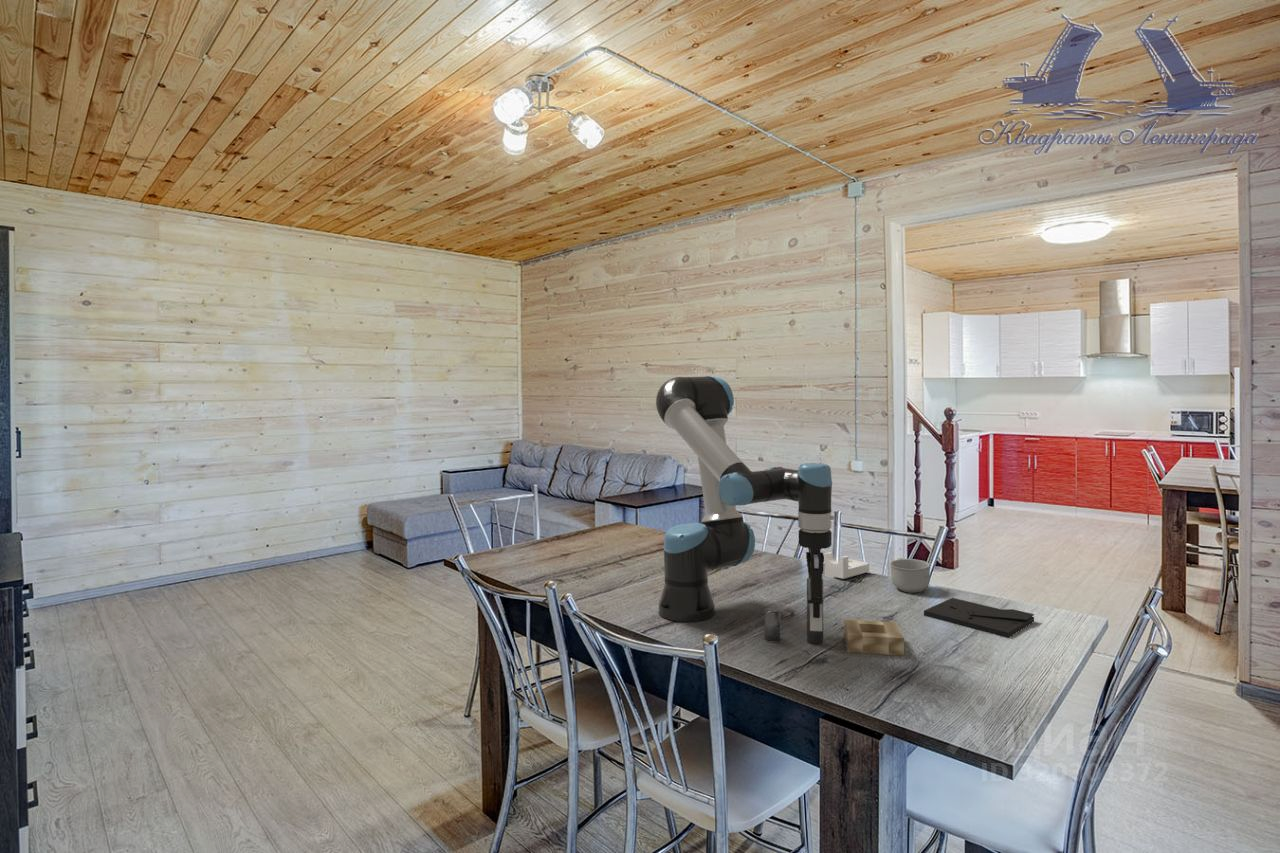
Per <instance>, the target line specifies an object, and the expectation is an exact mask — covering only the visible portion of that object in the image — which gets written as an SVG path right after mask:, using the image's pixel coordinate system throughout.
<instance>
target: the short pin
mask: <svg viewBox="0 0 1280 853" xmlns="http://www.w3.org/2000/svg"><path fill="white" fill-rule="evenodd" d="M763 639H764V641H766V640H767V641H766V642H769V641H778V642H779V640H780V641H781V610H780V609H778V608H777V607H766V608H764V609H763Z"/></svg>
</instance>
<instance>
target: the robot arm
mask: <svg viewBox="0 0 1280 853" xmlns="http://www.w3.org/2000/svg"><path fill="white" fill-rule="evenodd" d="M656 394H657V395H656V397H655V406H656V411H657V413H658V415H659V417H660V419H661V420H662V422H663V423H664V424H665V425H666V427H668V428H670V429H674V430H675V431H676V433H677V434H678V435H679V436H680V437H681V438H682V440H683V441H684V442H685V443H686V444H687V445H688V446H689V448H690V449H691V450H692V452H694V454H695V455H696V456H697V461H698V466H699V474H700V481H701V482H700V483H701V488H702V489H701V490H702V496H703V502H704V509H705V510H704V511H705V515H704V516H703V518H702V519H701V523H700V522H689V523H680V524H677V525H674V526H671V527H670V528H668V529H667V530H666V531H665V533H664V536H663V537H664V539H663V552H664V553H663V556H664V557H663V559H664V584H663V589H662V592H661V595H660V599H659V601H658V614H659V616H660V617H662V618H664V619H667V620H671V621H675V622H682V623H683V622H684V623H685V622H688V623H690V622H692V623H693V622H698V621H699V622H700V621H703V620H707V619H710V618H711V617H714V615H715V612H716V611H715V608H716V607H715V606H716V605H715V602H714V598H713V596H712V593H711V592H712V591H711V590H710V587H709V581H708V580H709V576H708V575H709V572H710V571H713V570H719V569H724V568H728V567H736V566H738V565H741V564H744V563H747V561H749V560H750V559H751V557H752V555H753V554H754V552H755V547H756V537H755V532H754V530H753V529H752V528H751V526H750V524H749V523H748V522H745V521H744V516H743V515H742V514H741V513H740V512H739V511H738V510H737V506H747V505H750V504H757V503H764V502H767V503H768V502H774V501H780V500H787V501H793V502H797V503H798V511H797V513H798V516H797V517H798V518H797V521H798V522H797V524H798V527H799V529H798V545H799V546H801V547H802V548H804V549H808V551H806V552H805V553H806V554H805V555H806V556H805V558H806V564H807V565H806V567H807V573H808V577H807V578H810V587H811V600H807V599H806V604H807V603H810V631H822V603H823V604H824V598H823V599H822V579H823V574H824V564H825V554H824V552H821V550H822V549H824V550H825V549H829V548H830V547H832V534H833V533H832V531H831V530H830V529H832V521H833V520H835V516H834V515H832V489H833V488H832V486H833V481H832V480H833V479H832V469H831V467H830V465H829V464H827V463H821V462H819V463H818V462H817V463H816V462H803V463H800V464H799V465H798V469H792V468H785V467H782V466H777V467H776V466H775V467H774V466H770V467H767V468H766V469H764V470H758V471H757V470H755V471H752V470H751V469H749V467H748V466H747V465H746V464H745V463H744V462H743V460H741V458H739V457H738V455H737V454H736V453H735V452H734V451H733V449H731V447H730V446H729V445H728V444H727V438H726V433H725V425H726V424H727V423H728V421H729V418H728V417H729V415H730V414H731V412H732V410H733V406H734V402H735V398H734V393H733V391H732V387H731V386H730V385H729V384H728V382H727V381H725V380H724V379H723V378H721V377H716V376H711V375H709V376H708V375H706V376H676V377H672V378H670V379H668V380H667V381H665V382H664V383H663V384H662V385H661V386H660V387H659V390H658V391H657V393H656ZM814 597H819V598H814Z"/></svg>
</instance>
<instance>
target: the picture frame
mask: <svg viewBox="0 0 1280 853" xmlns="http://www.w3.org/2000/svg"><path fill="white" fill-rule="evenodd" d="M923 616H924V617H928V618H930V619H931V618H932V619H935V620H939V621H943V622H946V623H949V624H950V623H951V624H954V625H957V626H962V627H966V628H968V629H972V630H977V631H980V632H983V633H988V634H991V635H994V634H995V636H999V637H1003V638H1006V639H1009V638H1011V637H1013V636H1014V635H1016V634H1017V633H1019V632H1021V631H1022V630H1023V628H1024V629H1026V628H1027V627H1029V626H1030V625H1032V624H1033V623H1032V622H1034V623H1035V614H1034V613H1030V612H1026V611H1021V610H1017V609H1012V608H1010V609H1008V608H1007V609H1003V608H1002V609H1001V608H997V607H992V606H989V605H985V604H981V603H977V602H972V601H967V600H964V599H959V598H955V597H951V598H948V599H946V600H944V601H942V602H940V603H938V604H935V605H933V606H931V607H929V608H927V609H925V610H923ZM1031 623H1032V624H1031ZM1029 624H1030V625H1029ZM1028 625H1029V626H1028ZM1026 626H1027V627H1026ZM1025 627H1026V628H1025ZM1021 629H1022V630H1021ZM1020 630H1021V631H1020ZM1018 631H1019V632H1018ZM1016 632H1017V633H1016ZM1015 633H1016V634H1015ZM1013 634H1014V635H1013ZM1010 636H1011V637H1010Z"/></svg>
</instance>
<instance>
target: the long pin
mask: <svg viewBox="0 0 1280 853" xmlns="http://www.w3.org/2000/svg"><path fill="white" fill-rule="evenodd" d="M814 598H819V597H814ZM822 599H823V600H824V579H823V578H822ZM807 600H811V587H810V578H808V577H807V578H806V601H807ZM806 643H808V644H810V645H813V644H814V645H815V646H816V645H817V646H819V645H820V646H821V645H823V644H824V602H823V603H822V631H810V603H807V602H806Z"/></svg>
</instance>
